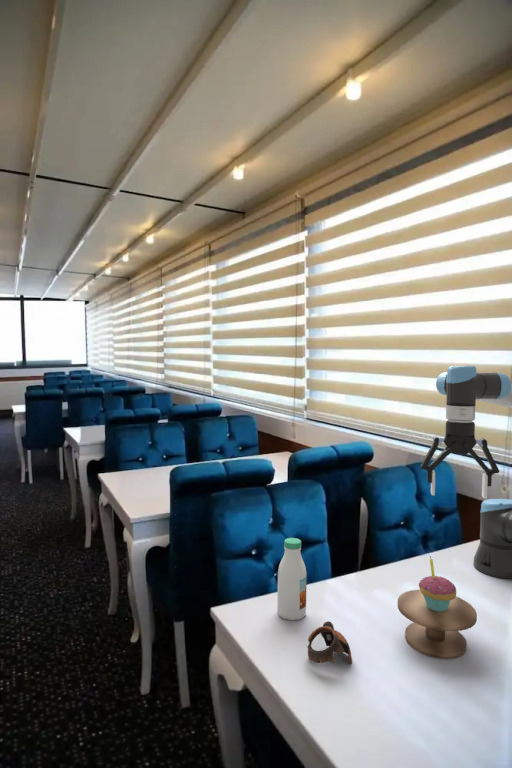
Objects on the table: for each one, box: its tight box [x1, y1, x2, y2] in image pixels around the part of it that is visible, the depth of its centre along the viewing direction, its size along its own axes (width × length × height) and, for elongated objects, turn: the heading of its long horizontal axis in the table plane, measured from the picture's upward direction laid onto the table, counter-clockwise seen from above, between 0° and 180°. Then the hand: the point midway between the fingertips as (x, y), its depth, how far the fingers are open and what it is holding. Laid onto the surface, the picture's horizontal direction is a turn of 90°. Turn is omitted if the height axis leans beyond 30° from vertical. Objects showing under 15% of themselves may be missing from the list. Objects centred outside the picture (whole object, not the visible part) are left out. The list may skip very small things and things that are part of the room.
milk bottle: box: [276, 537, 307, 621], centre depth 129 cm, size 8×8×20 cm
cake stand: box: [397, 589, 478, 660], centre depth 117 cm, size 18×18×9 cm
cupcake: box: [418, 555, 457, 612], centre depth 116 cm, size 9×8×12 cm
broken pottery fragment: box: [307, 620, 353, 665], centre depth 110 cm, size 12×10×8 cm
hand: (458, 496), depth 135 cm, fingers open, 13 cm apart
